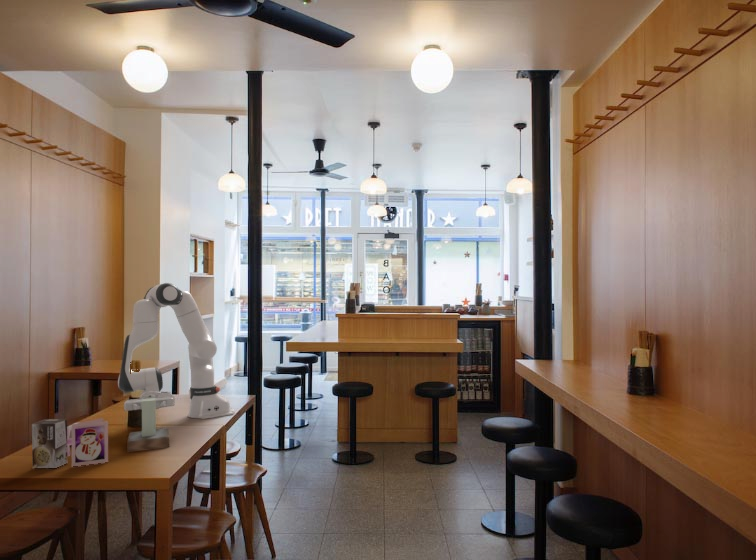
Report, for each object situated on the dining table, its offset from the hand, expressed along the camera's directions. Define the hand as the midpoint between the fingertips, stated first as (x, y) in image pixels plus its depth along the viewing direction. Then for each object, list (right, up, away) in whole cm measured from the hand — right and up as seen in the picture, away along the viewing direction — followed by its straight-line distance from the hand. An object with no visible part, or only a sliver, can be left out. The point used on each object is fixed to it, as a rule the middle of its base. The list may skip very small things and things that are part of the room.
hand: (149, 406), depth 217 cm
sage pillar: (+4, -9, -10) cm, 14 cm away
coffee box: (-20, -13, -35) cm, 42 cm away
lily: (-24, -13, -23) cm, 36 cm away
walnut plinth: (+4, -13, -11) cm, 17 cm away
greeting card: (-7, -13, -32) cm, 35 cm away
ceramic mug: (-27, -14, -7) cm, 31 cm away
